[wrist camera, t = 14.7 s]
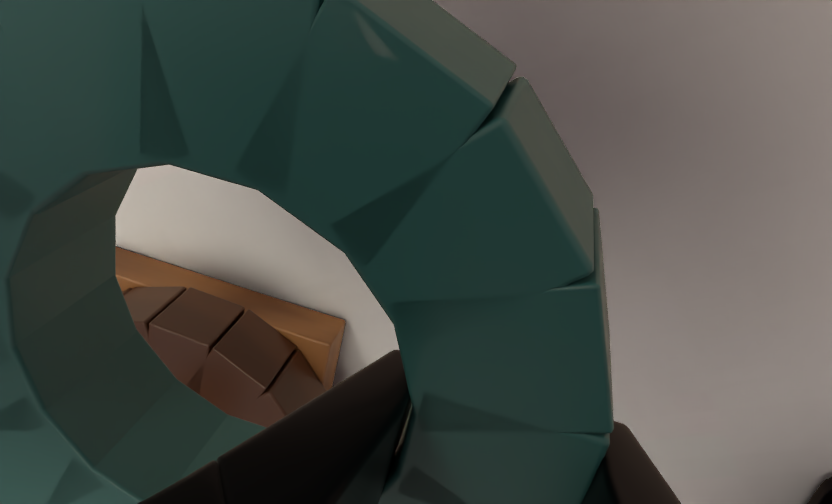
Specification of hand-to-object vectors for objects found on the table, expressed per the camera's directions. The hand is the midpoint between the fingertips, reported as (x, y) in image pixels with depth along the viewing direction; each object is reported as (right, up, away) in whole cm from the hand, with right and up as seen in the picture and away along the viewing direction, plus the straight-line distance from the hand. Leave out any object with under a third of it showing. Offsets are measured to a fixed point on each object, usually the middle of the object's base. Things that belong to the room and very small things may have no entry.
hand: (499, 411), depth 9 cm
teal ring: (-3, +1, +1) cm, 4 cm away
